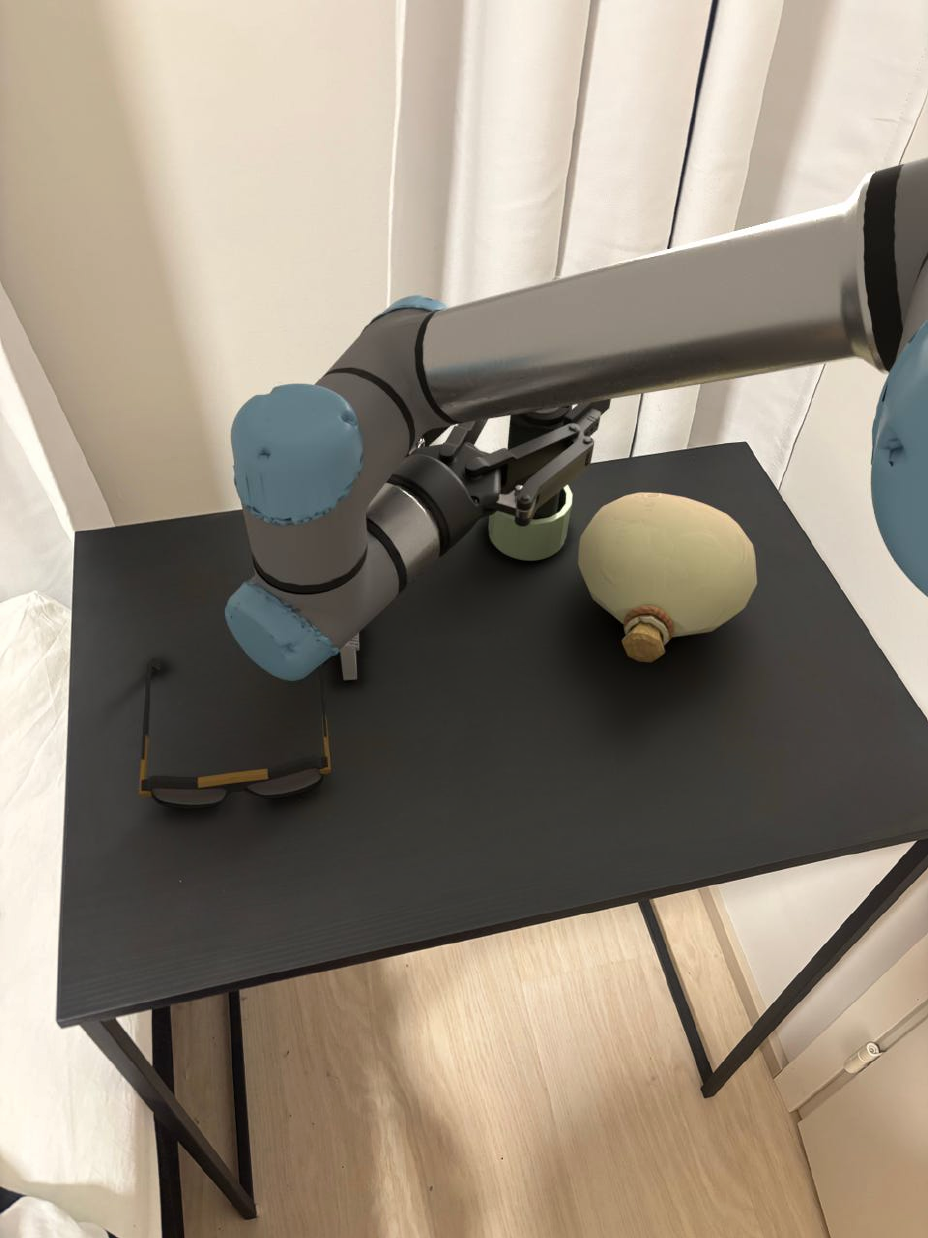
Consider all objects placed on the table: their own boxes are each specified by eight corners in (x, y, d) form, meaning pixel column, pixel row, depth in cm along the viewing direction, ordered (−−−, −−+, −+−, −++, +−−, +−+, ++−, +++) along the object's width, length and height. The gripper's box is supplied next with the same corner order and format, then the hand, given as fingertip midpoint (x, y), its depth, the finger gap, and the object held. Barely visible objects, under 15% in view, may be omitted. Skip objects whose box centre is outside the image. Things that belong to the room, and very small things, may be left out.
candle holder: (578, 523, 91) (585, 485, 88) (544, 571, 87) (550, 534, 83) (511, 495, 94) (514, 457, 90) (474, 541, 89) (476, 503, 86)
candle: (506, 494, 91) (528, 255, 71) (557, 501, 90) (594, 262, 71) (499, 531, 87) (520, 291, 68) (552, 538, 87) (589, 299, 68)
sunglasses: (321, 647, 81) (316, 611, 77) (335, 802, 71) (329, 769, 67) (157, 665, 79) (143, 629, 75) (149, 827, 69) (132, 795, 66)
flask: (752, 563, 88) (721, 716, 78) (591, 522, 91) (541, 664, 81) (780, 495, 81) (751, 654, 71) (604, 452, 84) (551, 599, 74)
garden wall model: (338, 579, 86) (333, 534, 81) (357, 578, 86) (353, 533, 81) (340, 684, 78) (335, 641, 74) (361, 683, 78) (357, 640, 74)
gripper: (318, 501, 76) (486, 371, 88) (505, 615, 69) (660, 457, 81) (309, 429, 70) (491, 300, 82) (512, 545, 63) (679, 386, 75)
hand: (575, 378), depth 81 cm, fingers closed on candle, 6 cm apart
